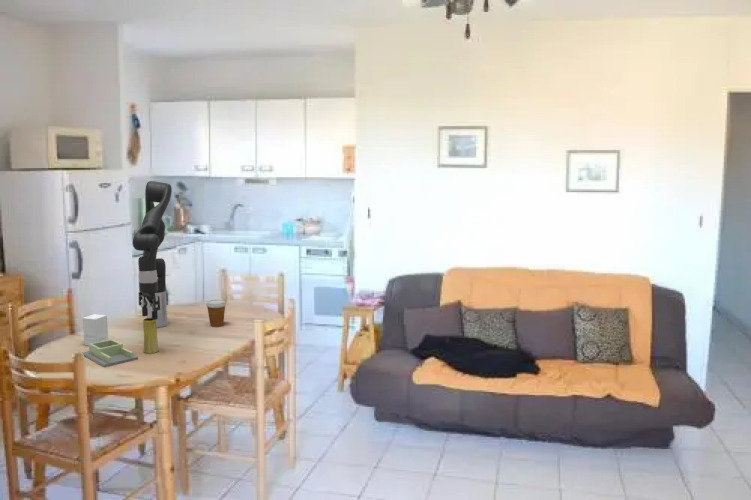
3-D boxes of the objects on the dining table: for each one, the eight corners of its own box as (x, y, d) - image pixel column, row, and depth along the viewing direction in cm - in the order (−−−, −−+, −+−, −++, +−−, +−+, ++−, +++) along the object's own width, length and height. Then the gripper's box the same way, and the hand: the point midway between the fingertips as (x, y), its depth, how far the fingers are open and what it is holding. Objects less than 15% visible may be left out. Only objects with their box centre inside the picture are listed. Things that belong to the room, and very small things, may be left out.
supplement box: (109, 342, 297) (107, 315, 295) (97, 347, 290) (95, 319, 288) (95, 340, 299) (94, 313, 297) (83, 345, 292) (82, 317, 290)
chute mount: (81, 354, 279) (81, 343, 279) (114, 347, 289) (113, 336, 288) (104, 367, 264) (103, 355, 263) (137, 359, 274) (137, 347, 273)
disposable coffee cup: (202, 326, 324) (202, 302, 322) (214, 321, 332) (213, 298, 330) (219, 328, 320) (218, 304, 318) (230, 323, 329) (229, 300, 327)
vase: (145, 349, 287) (144, 317, 285) (160, 349, 288) (158, 317, 286) (141, 353, 281) (140, 321, 279) (156, 353, 282) (155, 321, 280)
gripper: (131, 279, 282) (133, 316, 284) (147, 284, 272) (149, 322, 275) (148, 277, 287) (150, 313, 290) (164, 281, 278) (166, 319, 280)
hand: (149, 317), depth 282 cm, fingers open, 8 cm apart
